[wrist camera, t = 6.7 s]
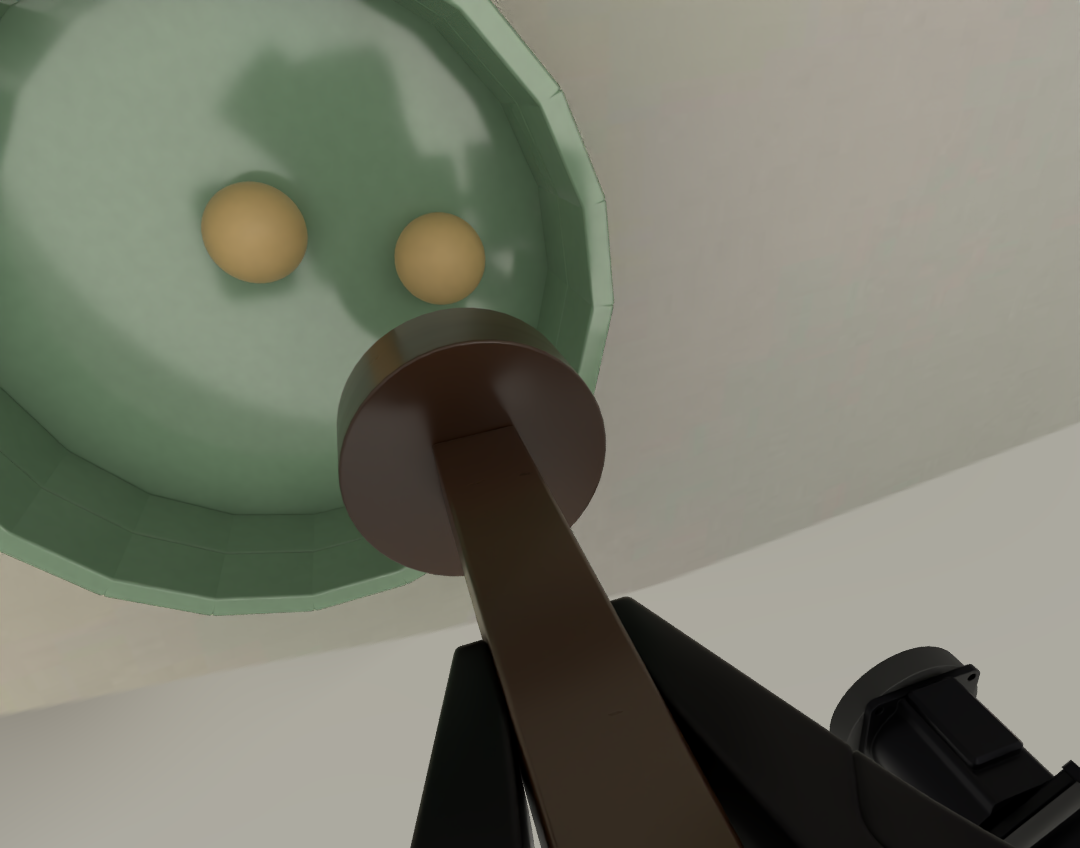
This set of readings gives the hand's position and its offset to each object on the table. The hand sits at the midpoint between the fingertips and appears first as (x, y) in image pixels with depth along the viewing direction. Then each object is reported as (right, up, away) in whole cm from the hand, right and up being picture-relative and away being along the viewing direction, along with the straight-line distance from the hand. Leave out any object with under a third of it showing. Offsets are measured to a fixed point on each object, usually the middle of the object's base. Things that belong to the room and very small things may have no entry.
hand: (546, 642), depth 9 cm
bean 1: (-7, +8, +8) cm, 14 cm away
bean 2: (-3, +8, +10) cm, 13 cm away
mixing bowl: (-7, +7, +9) cm, 14 cm away
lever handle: (-2, +3, +5) cm, 7 cm away
